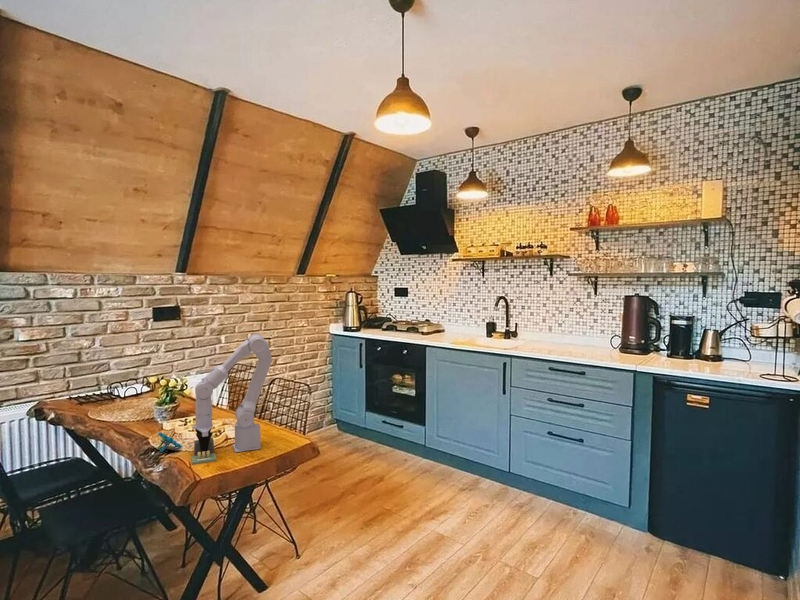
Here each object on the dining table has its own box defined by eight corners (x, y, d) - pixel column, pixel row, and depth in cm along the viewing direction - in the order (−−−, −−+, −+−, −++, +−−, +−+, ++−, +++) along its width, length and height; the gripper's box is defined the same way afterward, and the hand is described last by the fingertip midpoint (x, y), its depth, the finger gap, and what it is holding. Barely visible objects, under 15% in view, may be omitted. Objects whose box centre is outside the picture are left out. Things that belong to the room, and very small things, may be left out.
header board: (214, 454, 171) (214, 447, 171) (216, 461, 166) (216, 453, 166) (191, 458, 168) (191, 450, 167) (191, 464, 162) (191, 456, 162)
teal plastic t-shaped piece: (187, 446, 174) (166, 432, 169) (176, 461, 171) (154, 446, 166) (176, 442, 182) (155, 428, 177) (165, 456, 179) (144, 442, 174)
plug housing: (213, 449, 176) (213, 438, 176) (213, 453, 173) (213, 441, 173) (194, 452, 173) (194, 440, 173) (194, 455, 170) (194, 443, 170)
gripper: (191, 409, 177) (191, 443, 178) (193, 420, 164) (193, 457, 165) (211, 407, 180) (211, 441, 181) (214, 418, 167) (214, 454, 168)
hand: (203, 449), depth 173 cm, fingers closed on plug housing, 4 cm apart
